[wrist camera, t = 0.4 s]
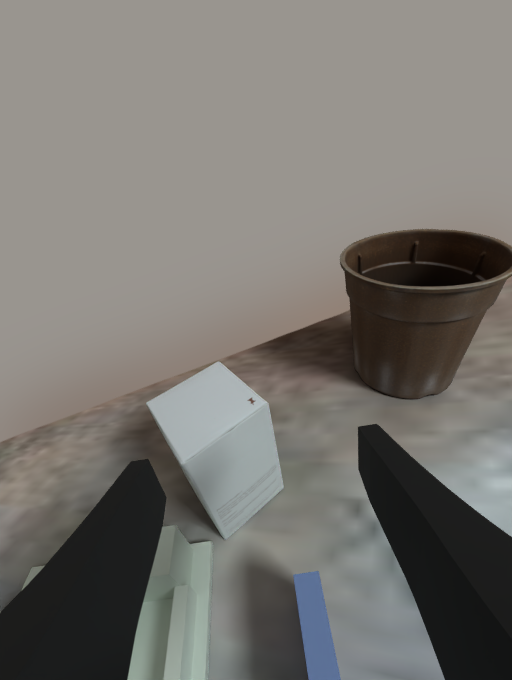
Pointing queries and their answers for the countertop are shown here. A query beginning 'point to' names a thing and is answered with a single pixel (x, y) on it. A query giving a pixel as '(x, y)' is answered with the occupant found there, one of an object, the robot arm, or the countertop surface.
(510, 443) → the countertop surface
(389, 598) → the countertop surface
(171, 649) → the dish rack
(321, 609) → the slate blue tile
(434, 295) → the plant pot
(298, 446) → the countertop surface
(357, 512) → the countertop surface
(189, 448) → the supplement box
